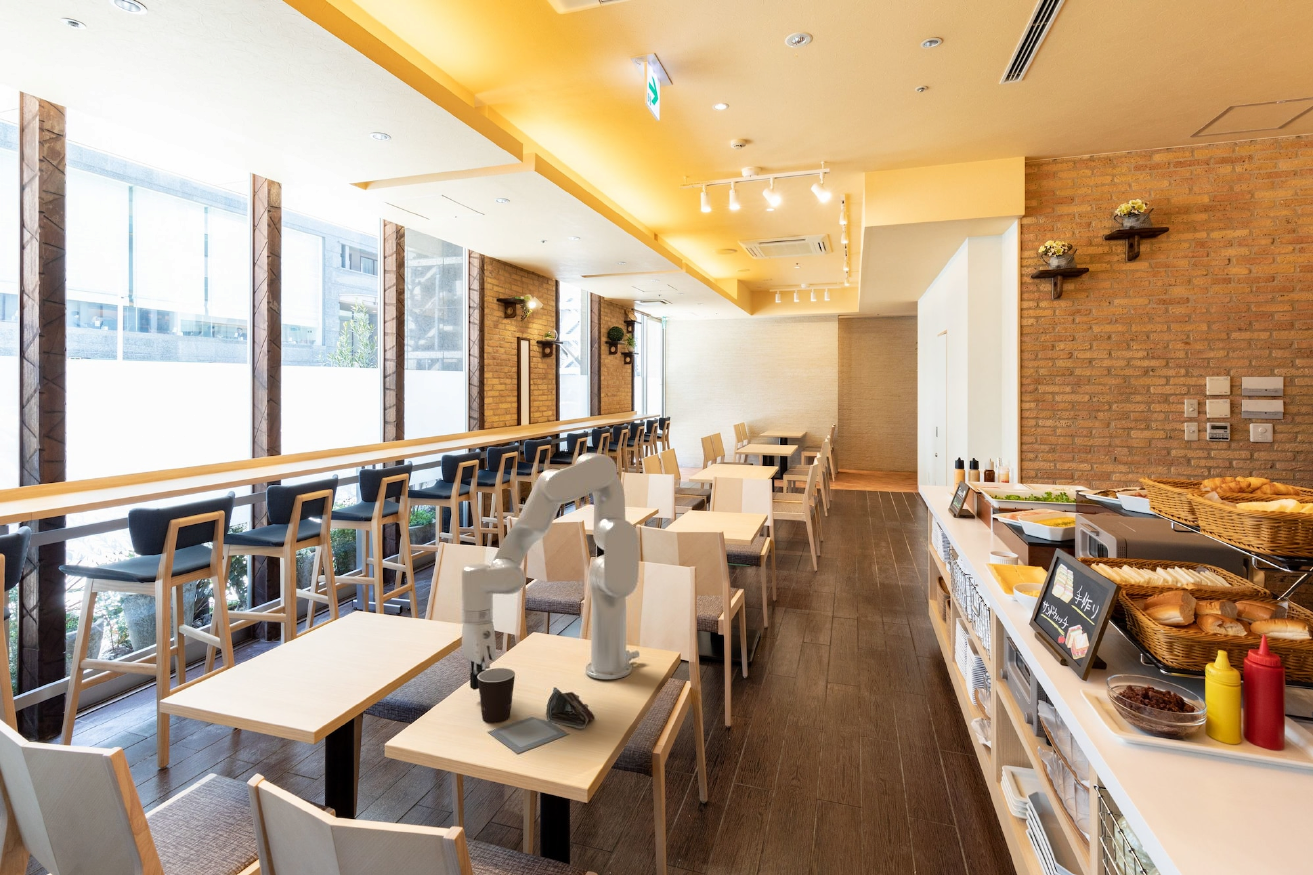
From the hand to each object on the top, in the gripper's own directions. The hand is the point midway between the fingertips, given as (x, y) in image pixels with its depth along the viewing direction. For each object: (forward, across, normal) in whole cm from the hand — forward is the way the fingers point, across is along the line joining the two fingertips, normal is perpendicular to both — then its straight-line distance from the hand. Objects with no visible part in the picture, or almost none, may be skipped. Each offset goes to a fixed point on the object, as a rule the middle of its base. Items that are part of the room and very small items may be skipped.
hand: (477, 687), depth 160 cm
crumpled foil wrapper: (+5, -30, -12) cm, 32 cm away
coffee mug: (+3, -11, 0) cm, 12 cm away
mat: (+3, -24, 0) cm, 24 cm away
